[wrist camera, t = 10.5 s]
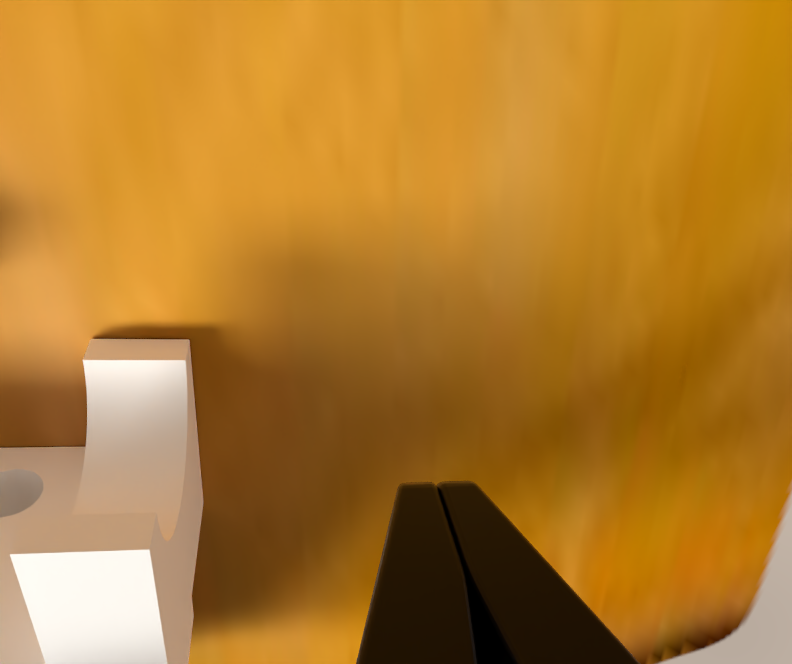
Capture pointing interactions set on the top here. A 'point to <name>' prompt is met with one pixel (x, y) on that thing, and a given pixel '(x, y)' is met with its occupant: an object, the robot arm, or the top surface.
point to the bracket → (107, 519)
